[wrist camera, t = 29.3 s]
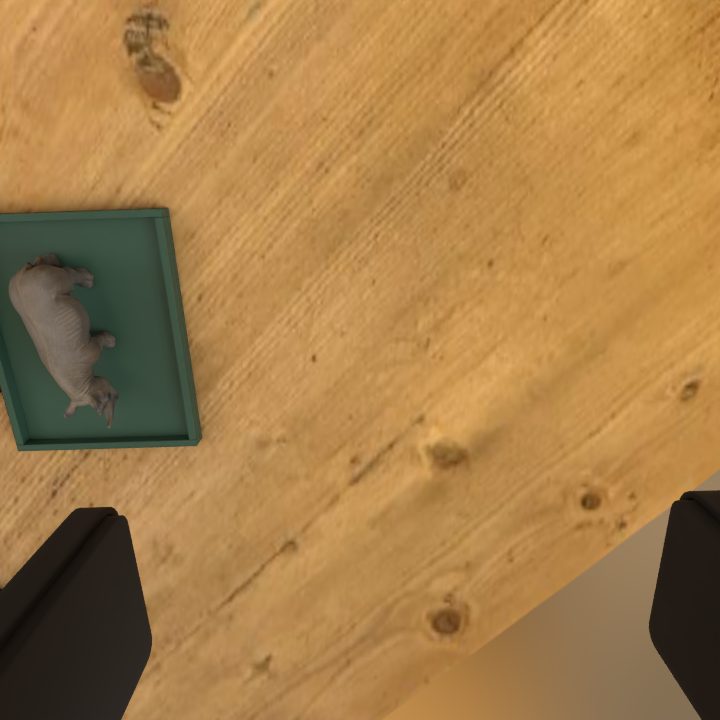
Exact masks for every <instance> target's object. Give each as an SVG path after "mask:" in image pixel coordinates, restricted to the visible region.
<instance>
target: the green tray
mask: <svg viewBox="0 0 720 720" xmlns="http://www.w3.org/2000/svg"><path fill="white" fill-rule="evenodd" d="M47 253H52V254H54V255H56V257H57V258H58V260H59V262H60V263H61V266H62V268H63V267H70V268H72V269H73V270H75V269H76V268H78V267H81V268H85V269H86V270H88V271H89V272H90V273H92V274H93V276H94V278H93V286H92V287H91V288H85V287H80V286H78V285H77V284H74V290H73V292H70V293H69V294H70V295H71V296H72V297H75V298H77V299H78V300H79V301H80V302H81V304H82V306H83V307H84V309H85V310H86V312H87V314H88V316H89V321H90V330H89V334H90V337H92V336H93V335H97V334H98V333H99V332H100V331H107V332H110V333H111V334H112V335H113V336H114V337H115V338H116V344H115V346H114V347H112V348H110V347H107V348H103V349H102V352H101V357H100V358H99V360H97V361H96V363H95V364H94V365H93V366H92V368H93V371H94V376H101V377H104V378H106V379H107V380H108V381H109V383H110V384H111V386H112V387H113V388H114V390H115V391H116V392H117V393H118V398H119V399H118V400H117V401H116V402H115V406H114V414H113V422H112V425H111V427H110V428H108V427H107V420H106V417H105V414H104V412H103V413H102V415H99V413H98V411H96V410H94V408H93V407H92V406H91V405H90V404H89V405H85V406H78V407H77V411H76V413H75V414H74V415H73V416H72V417H67V418H65V417H64V413H65V409H66V408H67V406H68V405H69V404H70V401H71V399H70V398H69V397H68V395H67V393H66V392H65V391H64V390H62V389H61V388H60V387H59V385H58V384H57V383H56V381H55V380H54V378H53V377H52V375H51V374H50V372H49V371H48V370H47V369H46V367H45V365H44V364H43V363H42V361H41V359H40V356H39V354H38V351H37V349H36V347H35V344H34V342H33V340H32V338H31V336H30V335H29V332H28V331H27V328H26V326H25V324H24V322H23V319H22V317H21V316H20V314H19V313H18V312H17V311H16V309H15V308H14V306H13V304H12V302H11V300H10V297H9V283H10V280H11V278H12V277H13V276H14V275H15V274H16V273H17V271H18V270H20V269H21V268H23V267H24V266H26V263H27V262H29V263H31V264H32V265H33V263H34V261H35V259H36V257H37V256H43V257H44V255H46V254H47ZM0 387H1V390H2V394H3V398H4V401H5V405H6V408H7V412H8V416H9V419H10V423H11V426H12V430H13V434H14V437H15V441H16V444H17V448H18V451H42V450H76V449H110V448H144V447H179V446H197V445H198V443H199V442H200V440H201V439H202V435H201V428H200V421H199V414H198V407H197V401H196V394H195V387H194V380H193V373H192V367H191V360H190V353H189V346H188V339H187V333H186V326H185V319H184V312H183V305H182V299H181V292H180V285H179V278H178V271H177V265H176V258H175V251H174V244H173V237H172V231H171V224H170V217H169V210H168V208H153V209H125V210H96V211H67V212H38V213H9V214H0Z"/></svg>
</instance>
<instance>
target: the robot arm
mask: <svg viewBox="0 0 720 720" xmlns="http://www.w3.org/2000/svg"><path fill="white" fill-rule="evenodd" d="M649 631H650V636H651V639H652V642H653V644H654V646H655V648H656V650H657V651H658V653H659V655H660V656H661V658H662V659H663V660H664V662H665V664H666V665H667V667H668V668H669V670H670V671H671V673H672V675H673V676H674V678H675V679H676V681H677V682H678V684H679V685H680V687H681V689H682V690H683V692H684V693H685V695H686V696H687V698H688V699H689V701H690V703H691V704H692V705H693V707H694V709H695V710H696V712H697V713H698V715H699V716H700V718H701V720H720V491H719V490H718V491H688V492H685V493H684V494H683V495H682V496H681V498H680V500H677V501H675V502H674V503H673V504H672V507H671V510H670V515H669V521H668V526H667V532H666V536H665V542H664V547H663V553H662V557H661V563H660V568H659V573H658V579H657V584H656V589H655V594H654V599H653V605H652V610H651V615H650V621H649ZM151 646H152V634H151V629H150V625H149V620H148V615H147V610H146V606H145V601H144V596H143V591H142V587H141V582H140V577H139V572H138V568H137V563H136V558H135V553H134V549H133V544H132V539H131V534H130V530H129V525H128V521H127V519H126V517H125V516H122V515H121V516H119V515H118V513H117V511H116V510H115V508H112V507H96V508H78V509H75V510H74V511H73V512H72V513H71V514H70V515H69V516H68V517H67V518H66V519H65V520H64V521H63V523H62V524H61V525H60V526H59V527H58V528H57V529H56V530H55V531H54V533H53V534H52V535H51V536H50V537H49V538H48V539H47V540H46V541H45V543H44V544H43V545H42V546H41V547H40V548H39V549H38V550H37V551H36V553H35V554H34V555H33V556H32V557H31V558H30V559H29V560H28V561H27V562H26V564H25V565H24V566H23V567H22V568H21V569H20V570H19V571H18V572H17V574H16V575H15V576H14V577H13V578H12V579H11V580H10V581H9V582H8V584H7V585H6V586H5V587H4V588H3V589H2V590H1V591H0V720H121V719H122V717H123V714H124V712H125V710H126V708H127V706H128V703H129V701H130V699H131V697H132V695H133V692H134V690H135V688H136V686H137V684H138V681H139V679H140V677H141V675H142V673H143V670H144V668H145V666H146V664H147V661H148V659H149V656H150V652H151Z"/></svg>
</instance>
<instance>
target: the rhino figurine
mask: <svg viewBox="0 0 720 720" xmlns="http://www.w3.org/2000/svg"><path fill="white" fill-rule="evenodd" d="M93 278H94V276H93V274H92V273H90V272H89V271H88V270H86V269H85V268H81V267H78V268H76V269H75V270H73V269H72V268H70V267H63V268H62V266H61V263H60V262H59V260H58V258H57V257H56V255H54V254H52V253H47V254H46V255H44V257H43V256H37V257H36V259H35V261H34V263H33V265H32V264H31V263H29V262H27V263H26V266H24V267H23V268H21V269H20V270H18V271H17V273H16V274H15V275H14V276H13V277H12V278H11V280H10V283H9V297H10V300H11V302H12V304H13V306H14V308H15V309H16V311H17V312H18V313H19V314H20V316H21V317H22V319H23V322H24V324H25V326H26V328H27V331H28V332H29V335H30V336H31V338H32V340H33V342H34V344H35V347H36V349H37V351H38V354H39V356H40V359H41V361H42V363H43V364H44V365H45V367H46V369H47V370H48V371H49V372H50V374H51V375H52V377H53V378H54V380H55V381H56V383H57V384H58V385H59V387H60V388H61V389H62V390H64V391H65V392H66V393H67V395H68V397H69V398H70V399H71V401H70V404H69V405H68V406H67V408H66V409H65V413H64V417H65V418H67V417H72V416H73V415H74V414H75V413H76V411H77V407H78V406H85V405H89V404H90V405H91V406H92V407H93V408H94V410H96V411H98V413H99V415H102V413H103V412H104V414H105V417H106V420H107V427H108V428H110V427H111V425H112V422H113V414H114V406H115V402H116V401H117V400H118V399H119V398H118V393H117V392H116V391H115V390H114V388H113V387H112V386H111V384H110V383H109V381H108V380H107V379H106V378H104V377H101V376H94V371H93V368H92V366H93V365H94V364H95V363H96V361H97V360H99V358H100V357H101V352H102V349H103V348H107V347H110V348H112V347H114V346H115V344H116V338H115V337H114V336H113V335H112V334H111V333H110V332H107V331H100V332H99V333H98V334H97V335H93V336H92V337H90V334H89V330H90V321H89V316H88V314H87V312H86V310H85V309H84V307H83V306H82V304H81V302H80V301H79V300H78V299H77V298H75V297H72V296H71V295H70V294H69V293H70V292H73V290H74V284H77V285H78V286H80V287H85V288H91V287H92V286H93Z"/></svg>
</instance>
